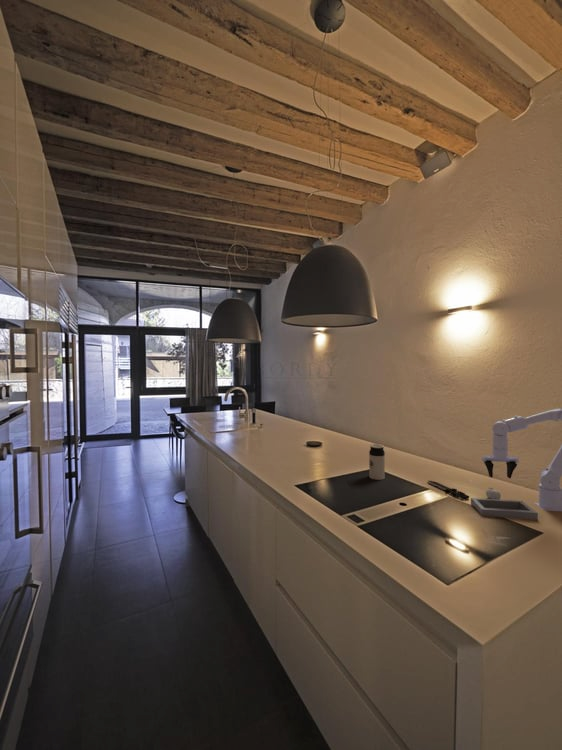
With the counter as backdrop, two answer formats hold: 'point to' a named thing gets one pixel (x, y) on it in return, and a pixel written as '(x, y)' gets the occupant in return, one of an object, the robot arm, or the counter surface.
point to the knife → (453, 491)
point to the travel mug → (376, 462)
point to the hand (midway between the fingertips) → (499, 477)
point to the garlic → (493, 494)
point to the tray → (504, 508)
